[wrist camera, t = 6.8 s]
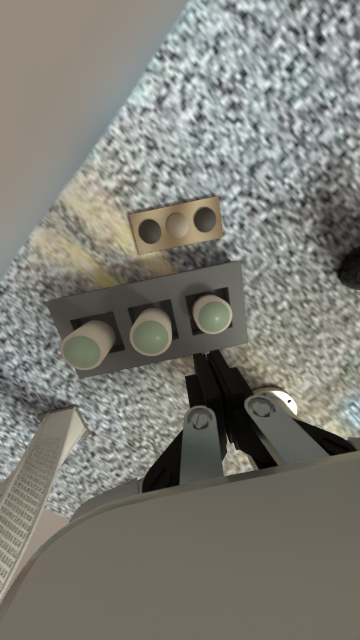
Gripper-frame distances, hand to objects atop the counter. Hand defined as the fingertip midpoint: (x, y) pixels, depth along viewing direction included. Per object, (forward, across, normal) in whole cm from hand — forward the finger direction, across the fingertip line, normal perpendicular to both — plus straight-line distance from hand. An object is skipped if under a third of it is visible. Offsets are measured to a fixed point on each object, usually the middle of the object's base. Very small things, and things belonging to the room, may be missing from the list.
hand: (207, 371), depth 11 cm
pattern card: (+18, -1, -12) cm, 21 cm away
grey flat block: (+17, +5, +1) cm, 18 cm away
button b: (+14, +5, +1) cm, 14 cm away
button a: (+16, -3, 0) cm, 16 cm away
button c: (+14, +13, +1) cm, 19 cm away
